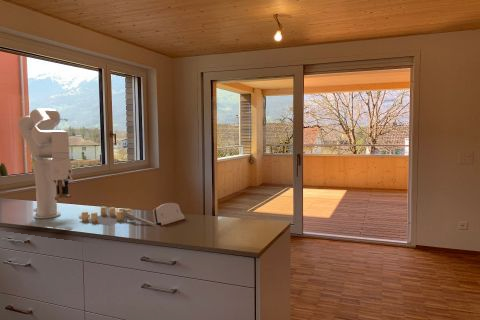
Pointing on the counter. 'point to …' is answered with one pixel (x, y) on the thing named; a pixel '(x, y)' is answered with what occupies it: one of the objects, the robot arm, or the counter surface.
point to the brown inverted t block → (61, 196)
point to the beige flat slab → (167, 213)
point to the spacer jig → (105, 216)
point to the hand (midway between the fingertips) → (62, 193)
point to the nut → (81, 215)
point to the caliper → (135, 218)
